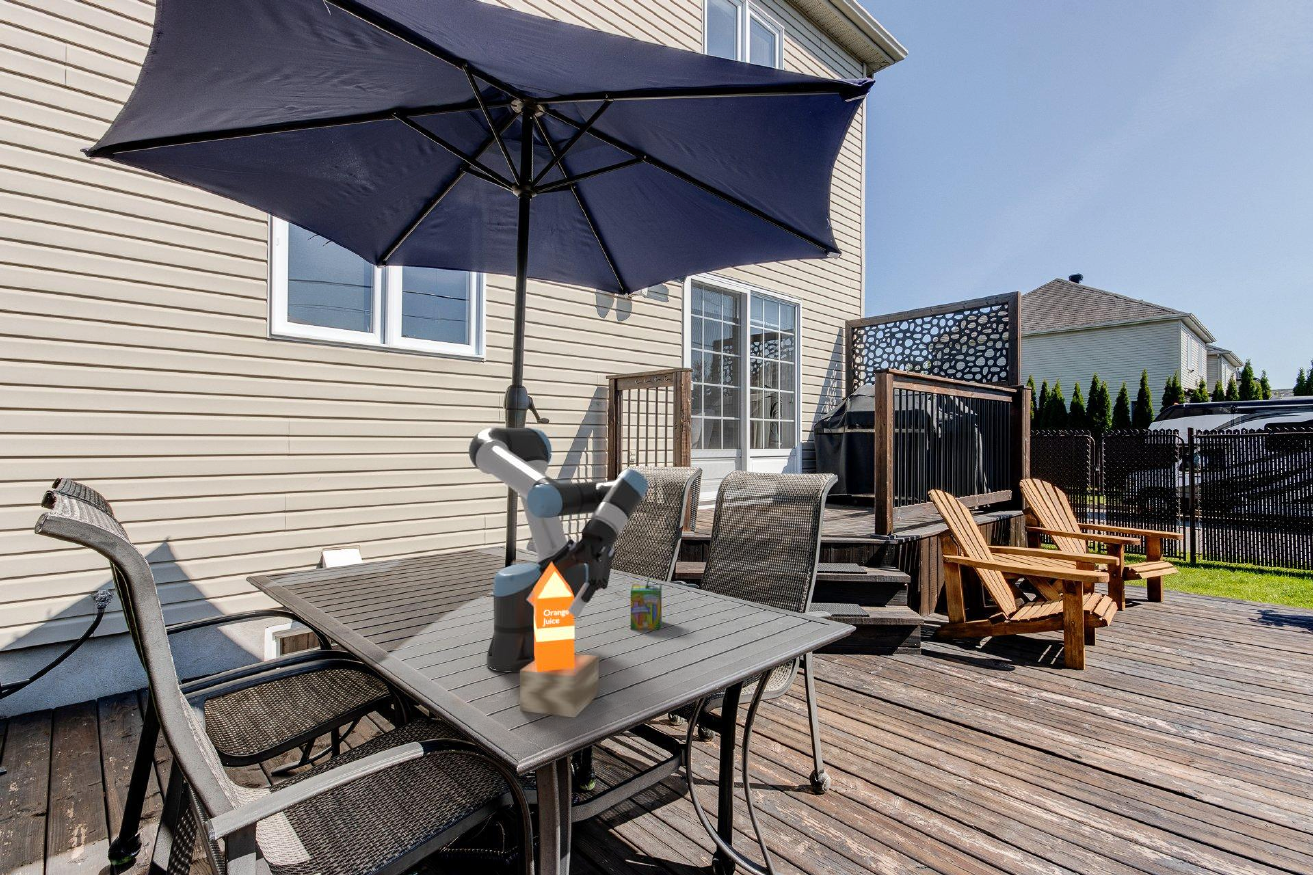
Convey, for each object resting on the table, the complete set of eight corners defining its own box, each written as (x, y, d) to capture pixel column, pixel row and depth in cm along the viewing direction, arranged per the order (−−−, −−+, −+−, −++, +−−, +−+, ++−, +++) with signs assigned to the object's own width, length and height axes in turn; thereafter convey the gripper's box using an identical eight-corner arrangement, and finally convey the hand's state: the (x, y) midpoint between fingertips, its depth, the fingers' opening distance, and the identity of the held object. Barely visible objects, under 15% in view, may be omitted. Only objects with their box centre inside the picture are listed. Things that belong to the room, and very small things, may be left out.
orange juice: (570, 651, 130) (569, 560, 129) (575, 667, 121) (574, 569, 121) (533, 655, 128) (532, 562, 127) (535, 671, 119) (535, 572, 119)
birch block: (520, 710, 120) (519, 670, 120) (548, 687, 131) (547, 651, 131) (574, 717, 116) (574, 675, 116) (598, 693, 128) (598, 655, 128)
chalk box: (632, 621, 183) (631, 572, 183) (662, 621, 183) (661, 572, 183) (629, 630, 174) (629, 578, 174) (661, 630, 173) (660, 578, 174)
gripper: (652, 543, 128) (601, 630, 116) (577, 533, 144) (525, 609, 133) (635, 520, 124) (580, 608, 112) (559, 513, 141) (505, 589, 129)
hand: (550, 608), depth 123 cm, fingers open, 13 cm apart
